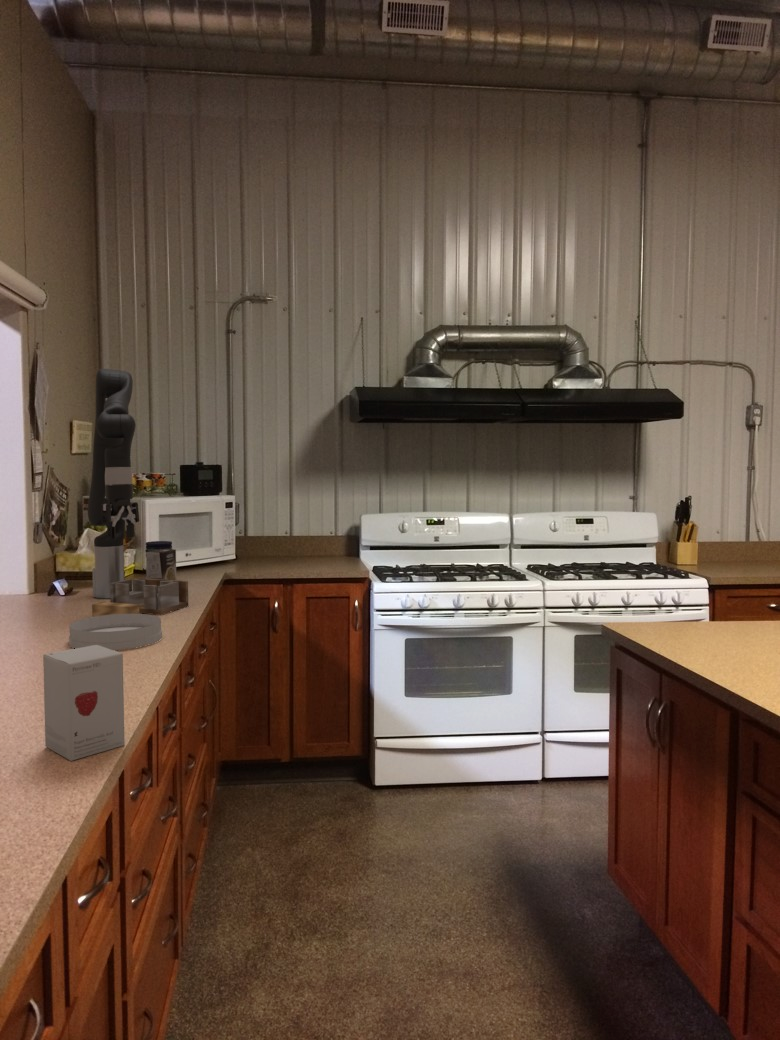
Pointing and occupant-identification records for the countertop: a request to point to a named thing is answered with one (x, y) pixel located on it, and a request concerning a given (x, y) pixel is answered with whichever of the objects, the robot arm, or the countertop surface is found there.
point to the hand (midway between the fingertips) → (121, 538)
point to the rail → (114, 608)
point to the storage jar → (158, 545)
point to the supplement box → (83, 701)
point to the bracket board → (151, 594)
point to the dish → (116, 631)
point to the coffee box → (161, 564)
